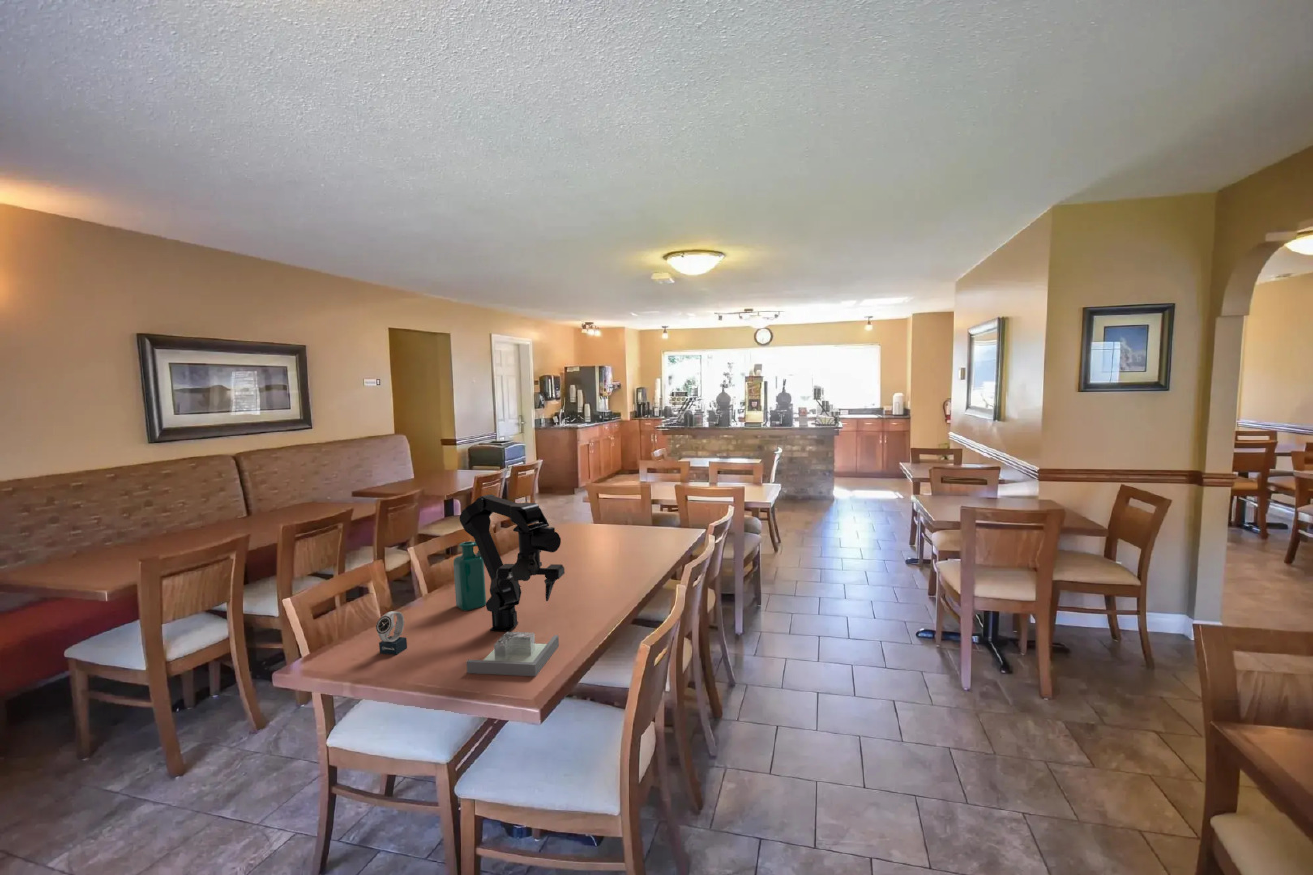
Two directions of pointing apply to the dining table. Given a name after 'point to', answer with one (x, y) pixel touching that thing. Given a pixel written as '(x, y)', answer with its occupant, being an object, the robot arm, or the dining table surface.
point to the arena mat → (521, 657)
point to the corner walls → (514, 663)
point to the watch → (384, 627)
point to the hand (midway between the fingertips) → (532, 600)
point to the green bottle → (469, 578)
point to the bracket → (514, 645)
